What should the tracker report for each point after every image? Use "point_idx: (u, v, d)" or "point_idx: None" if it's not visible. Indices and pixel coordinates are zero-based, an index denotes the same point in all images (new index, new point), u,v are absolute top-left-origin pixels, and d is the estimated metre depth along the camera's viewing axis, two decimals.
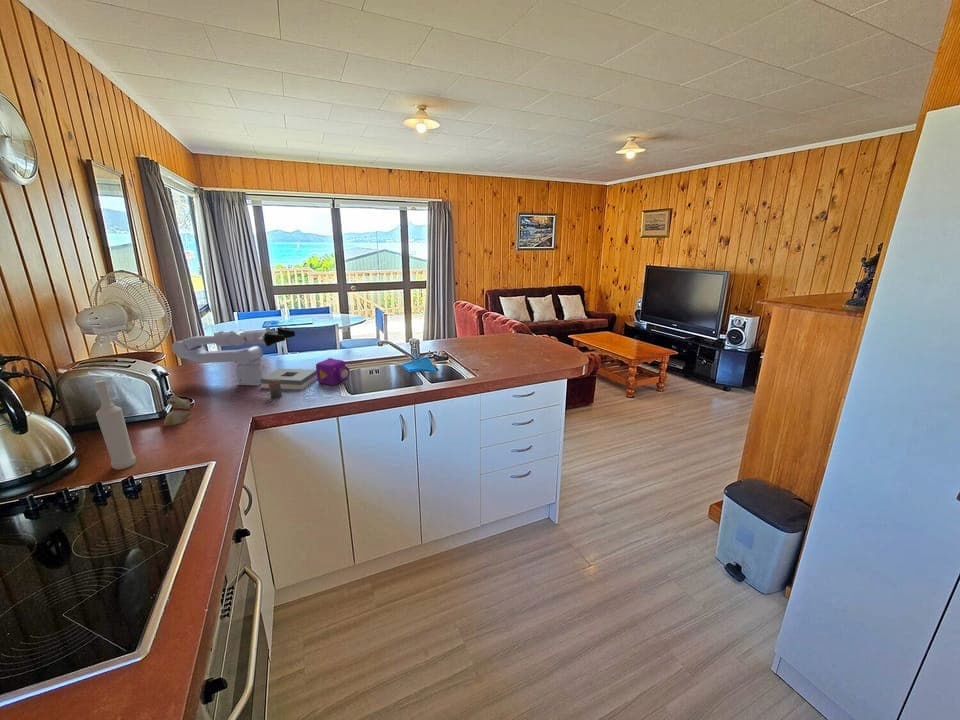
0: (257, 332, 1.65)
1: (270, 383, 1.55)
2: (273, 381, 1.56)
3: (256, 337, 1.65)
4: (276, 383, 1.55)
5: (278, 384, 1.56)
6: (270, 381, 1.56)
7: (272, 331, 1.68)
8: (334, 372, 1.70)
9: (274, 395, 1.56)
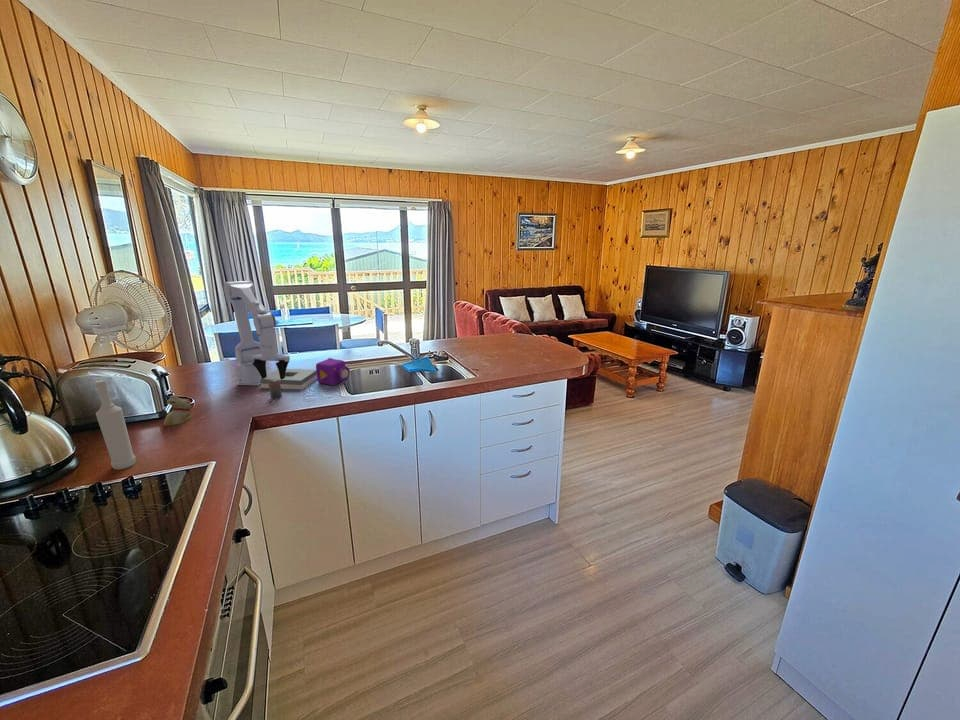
0: (261, 348, 1.50)
1: (270, 383, 1.55)
2: (273, 381, 1.56)
3: None
4: (276, 383, 1.55)
5: (278, 384, 1.56)
6: (270, 381, 1.56)
7: None
8: (334, 372, 1.70)
9: (274, 395, 1.56)
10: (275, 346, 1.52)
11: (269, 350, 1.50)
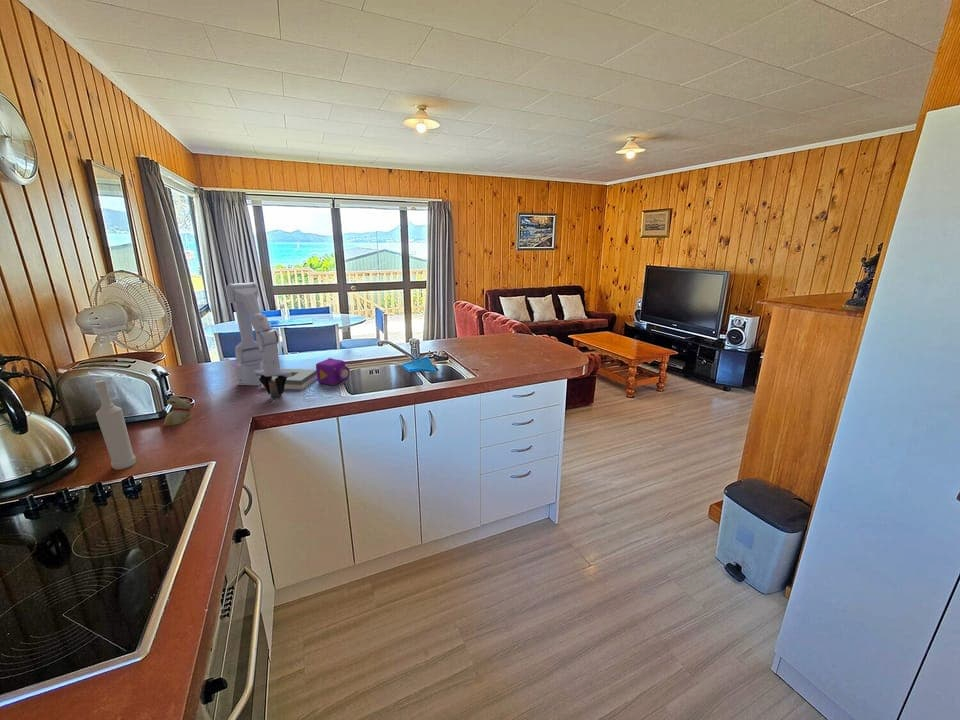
0: (263, 364, 1.52)
1: (270, 383, 1.55)
2: (273, 381, 1.56)
3: None
4: None
5: None
6: (270, 381, 1.56)
7: None
8: (334, 372, 1.70)
9: (274, 395, 1.56)
10: (278, 362, 1.54)
11: (272, 366, 1.52)
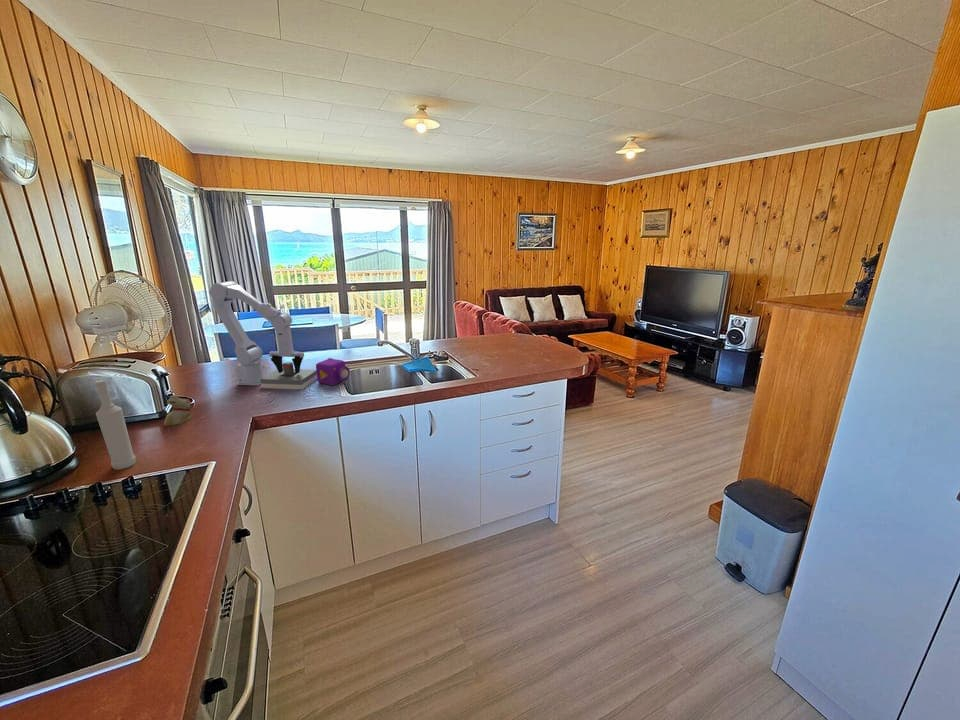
0: (278, 345, 1.67)
1: (284, 365, 1.69)
2: (287, 364, 1.70)
3: None
4: (290, 365, 1.70)
5: (291, 366, 1.71)
6: (284, 364, 1.70)
7: None
8: (334, 372, 1.70)
9: (288, 376, 1.71)
10: (291, 343, 1.68)
11: (286, 347, 1.67)
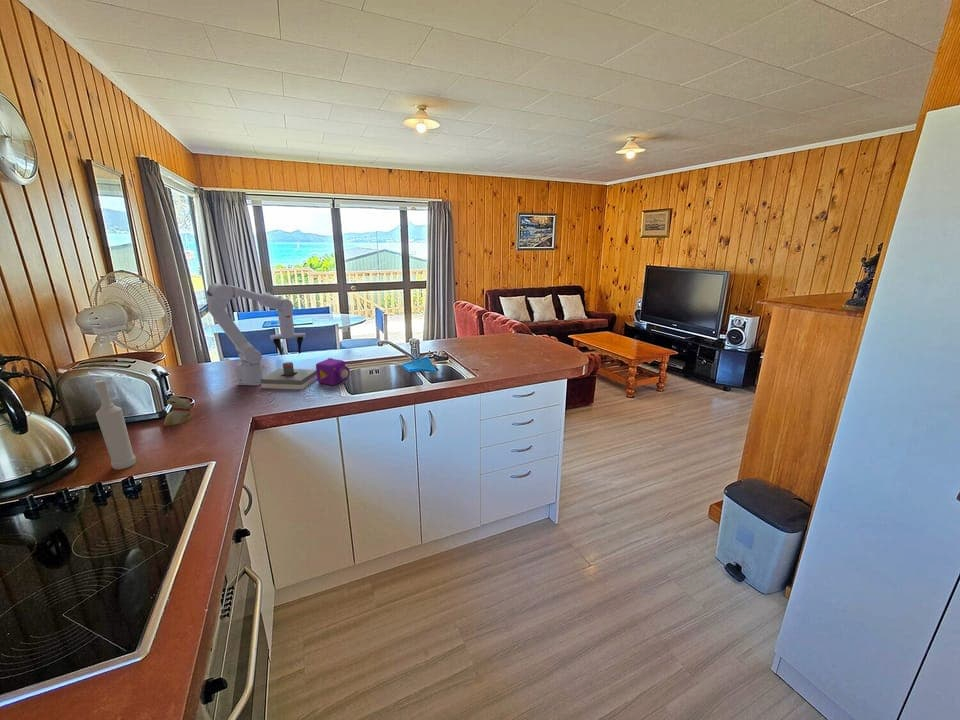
0: (282, 328, 1.78)
1: (284, 365, 1.69)
2: (287, 364, 1.70)
3: None
4: (290, 365, 1.70)
5: (291, 366, 1.71)
6: (284, 364, 1.70)
7: None
8: (334, 372, 1.70)
9: (288, 376, 1.71)
10: (293, 326, 1.81)
11: (290, 329, 1.79)
